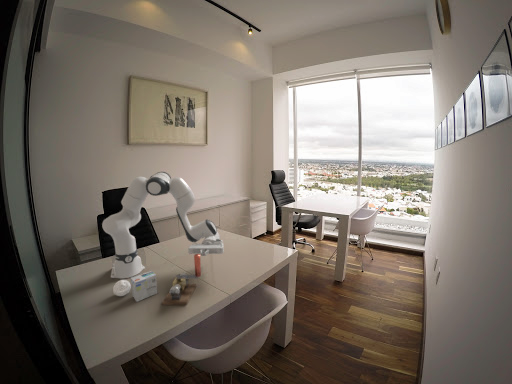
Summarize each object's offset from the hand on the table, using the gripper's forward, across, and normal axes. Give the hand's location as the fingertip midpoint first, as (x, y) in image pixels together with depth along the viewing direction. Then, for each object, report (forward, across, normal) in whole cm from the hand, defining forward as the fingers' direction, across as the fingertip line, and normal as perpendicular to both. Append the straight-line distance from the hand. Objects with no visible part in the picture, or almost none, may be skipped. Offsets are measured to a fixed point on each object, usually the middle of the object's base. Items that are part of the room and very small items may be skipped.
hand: (203, 254), depth 126 cm
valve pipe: (+10, -10, +16) cm, 22 cm away
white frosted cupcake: (+10, -41, +18) cm, 46 cm away
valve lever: (+10, -5, +9) cm, 14 cm away
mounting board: (+10, -10, +18) cm, 23 cm away
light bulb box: (+10, -29, +18) cm, 35 cm away
